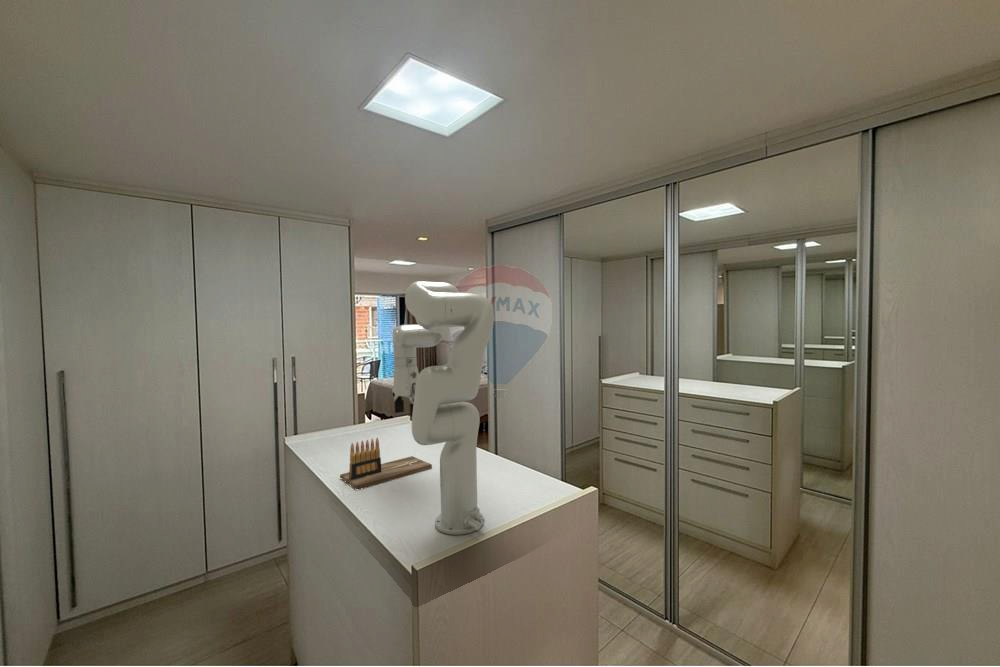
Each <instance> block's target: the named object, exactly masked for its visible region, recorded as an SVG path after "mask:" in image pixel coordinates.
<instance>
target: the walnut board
mask: <svg viewBox="0 0 1000 667" xmlns="http://www.w3.org/2000/svg"><path fill="white" fill-rule="evenodd" d="M432 466H433V464H432V463H430V462H427V461H424V460H422V459H420V458H417V457H415V456H412V455H410V456H408V457H403V458H399V459H396V460H391V461H387V462H384V463H381V470H382V472H379V473H375V474H372V475H368V476H364V477H360V478H357V479H353V480H352V479H350V478H349V471H348V472H346V473H345V472H344V473H341V474H339V479H340V478H342V479H343V480H344V481H346V482H347V483H348V484H347V483H346V482H345V483H346V484H347V485H349V484H350V485H351V487H352V486H353V487H354V488H353V487H352V488H353V489H355V488H356V489H360V490H362V489H361V488H363V489H366V488H365V487H367V488H369V486H370V487H374V486H376V485H380V483H381V484H384V483H386V482H390V481H393V480H394V481H395V480H397V479H401V478H405V477H407V476H412V475H415V474H418V473H421V472H425V471H428V470H432V469H433V467H432ZM343 480H342V481H343ZM344 481H343V482H344ZM350 485H349V486H350ZM373 485H374V486H373ZM356 489H355V490H356Z"/></svg>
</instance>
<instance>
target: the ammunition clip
mask: <svg viewBox="0 0 1000 667" xmlns="http://www.w3.org/2000/svg"><path fill="white" fill-rule="evenodd" d="M381 460H382V458H381V449H380V442H379V437H376V439H375V442H374V439H373V438H371V439H370V442H369V439H366V441H365V443H364V440H361V442H360V444H359V441H356V443H355V445H354V442H351V444H350V454H349V471H348V472H349V478H350V479H352V480H353V479H357V478H360V477H364V476H368V475H372V474H375V473H379V472H382V470H381V464H382V461H381Z"/></svg>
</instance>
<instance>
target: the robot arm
mask: <svg viewBox="0 0 1000 667" xmlns="http://www.w3.org/2000/svg"><path fill="white" fill-rule="evenodd" d="M404 295H405V296H404V301H405V302H404V303H405V306H406V309H407V310H408V312H409V313H410V314H411V315H412V316H413V317H414V318H415V321H416V323H417V324H415V323H414V324H401V325H399V326H395V327H394V328H393V329H392V350H393V354H392V355H393V369H394V370H393V386H392V387H391V391H392V396H393V401H394V413H395V414H399V413H404V412H405V406H404V405H405V404H404V402H405V401H404V400H403V399H404V398H408V399H409V401H410V403H409V415H410V416H411V434H412V437H413V440H414V441H415V442H416V443H417V444H419V445H420V446H430V445H431V446H432V445H437V444H442V443H444V445H443V448H442V449H441V452H440V456H439V479H440V480H439V481H440V482H439V484H440V489H439V490H440V514H438V515H437V516H436V518H435V520H434V524H435V528H436V529H437V530H438V531H439V532H441V533H443V534H447V535H454V536H455V535H466V534H470V533H473V532H475V531H479V530H480V529H481V527H482V526H483V525H484V524H485V522H486V519H485V518H484V515H483V514H482V513H481V512H480V508H479V507H478V472H477V469H478V468H477V466H478V465H477V459H478V458H477V449H478V448H477V447H478V445H477V443H478V437H479V436H478V435H479V428H480V421H481V420H480V413H479V411H478V410H479V409H477V407H476V406H475V405H474V404H473V403H470V402H469V401H472V400H474V399H475V398H476V397H477V395H478V393H479V390H480V385H481V378H482V372H483V365H484V360H485V354H486V353H485V352H486V349H487V346H488V343H489V340H490V337H491V334H492V331H493V328H494V323H495V322H494V321H495V320H494V318H495V316H494V313H495V312H494V309H493V306H492V303H491V301H490V300H489V299H488V298H487V297H486V296H484V295H481V294H477V293H471V292H460V291H459V289H458V288H457V287H456V286H455V285H453V284H451V283H448V282H441V281H423V280H422V281H421V280H420V281H419V280H418V281H414V282H412V283H411V284H410V285H409V286H408V288H407V289H406V292H405V294H404ZM458 327H459V328H462V327H463V330H462V331H461V332H460V333H458V335H456V336H457V337H456V338H454V340H453V342H452V344H451V345H450V349H449V357H448V360H447V361H448V362H447V363H446V364H442V365H441V364H440V365H431V366H427V367H425V368H423V369H422V370H421V371H419V369H418V366H417V365H418V364H417V363H418V362H417V361H418V360H417V359H418V358H417V348H431V347H435V346H438V344H439V343H440V342H442V340H443V339H444V338H445V335H446V331H447V328H458Z"/></svg>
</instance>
